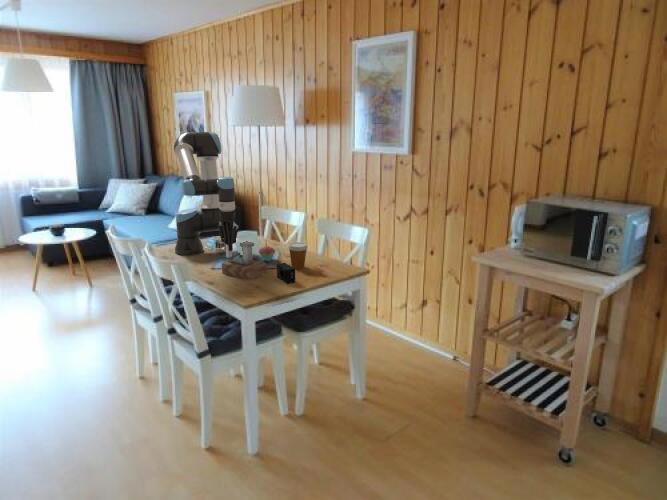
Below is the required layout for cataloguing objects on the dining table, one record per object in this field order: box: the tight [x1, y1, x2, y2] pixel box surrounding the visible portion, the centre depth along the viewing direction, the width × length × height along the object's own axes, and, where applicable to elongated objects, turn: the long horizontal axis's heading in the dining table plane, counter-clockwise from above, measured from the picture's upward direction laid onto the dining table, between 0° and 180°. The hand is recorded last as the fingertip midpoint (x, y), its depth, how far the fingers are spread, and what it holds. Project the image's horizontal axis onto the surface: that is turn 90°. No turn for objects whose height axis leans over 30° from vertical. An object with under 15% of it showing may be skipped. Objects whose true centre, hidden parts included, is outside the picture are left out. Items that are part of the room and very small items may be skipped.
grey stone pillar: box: [240, 241, 255, 266], centre depth 219 cm, size 5×5×16 cm
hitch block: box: [221, 258, 268, 281], centre depth 222 cm, size 18×12×6 cm, turn 58°
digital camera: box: [276, 262, 296, 285], centre depth 213 cm, size 10×5×7 cm, turn 34°
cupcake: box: [258, 239, 276, 262], centre depth 242 cm, size 9×8×12 cm
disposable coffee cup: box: [288, 242, 308, 270], centre depth 231 cm, size 10×10×12 cm
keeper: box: [233, 254, 243, 264], centre depth 222 cm, size 5×4×3 cm
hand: (229, 256), depth 226 cm, fingers closed
